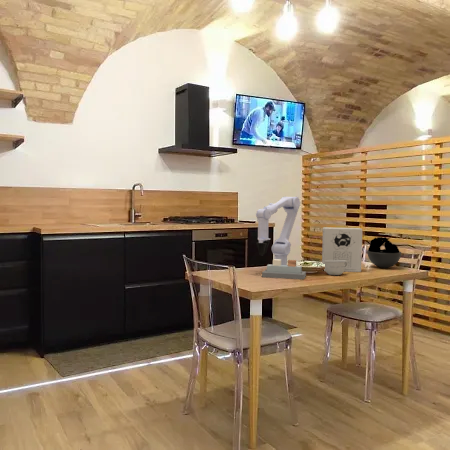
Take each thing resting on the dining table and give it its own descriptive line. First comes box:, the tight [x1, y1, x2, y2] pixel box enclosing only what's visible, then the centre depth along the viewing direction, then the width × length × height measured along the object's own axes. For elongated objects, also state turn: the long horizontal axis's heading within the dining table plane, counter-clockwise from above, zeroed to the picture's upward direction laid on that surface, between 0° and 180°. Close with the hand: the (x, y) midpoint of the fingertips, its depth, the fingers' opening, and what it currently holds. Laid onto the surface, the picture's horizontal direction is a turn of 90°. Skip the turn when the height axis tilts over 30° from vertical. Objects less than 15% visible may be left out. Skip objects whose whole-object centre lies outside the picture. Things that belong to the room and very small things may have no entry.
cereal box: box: [321, 226, 363, 273], centre depth 274 cm, size 22×8×25 cm, turn 84°
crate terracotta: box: [287, 259, 297, 267], centre depth 249 cm, size 4×4×3 cm
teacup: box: [324, 260, 348, 276], centre depth 260 cm, size 14×11×8 cm
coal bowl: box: [366, 236, 402, 269], centre depth 288 cm, size 20×20×19 cm
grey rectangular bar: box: [266, 263, 303, 274], centre depth 250 cm, size 18×5×3 cm, turn 75°
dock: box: [261, 269, 307, 280], centre depth 250 cm, size 11×22×2 cm, turn 75°
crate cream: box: [272, 258, 281, 266], centre depth 251 cm, size 4×4×3 cm
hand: (262, 254), depth 260 cm, fingers open, 7 cm apart
